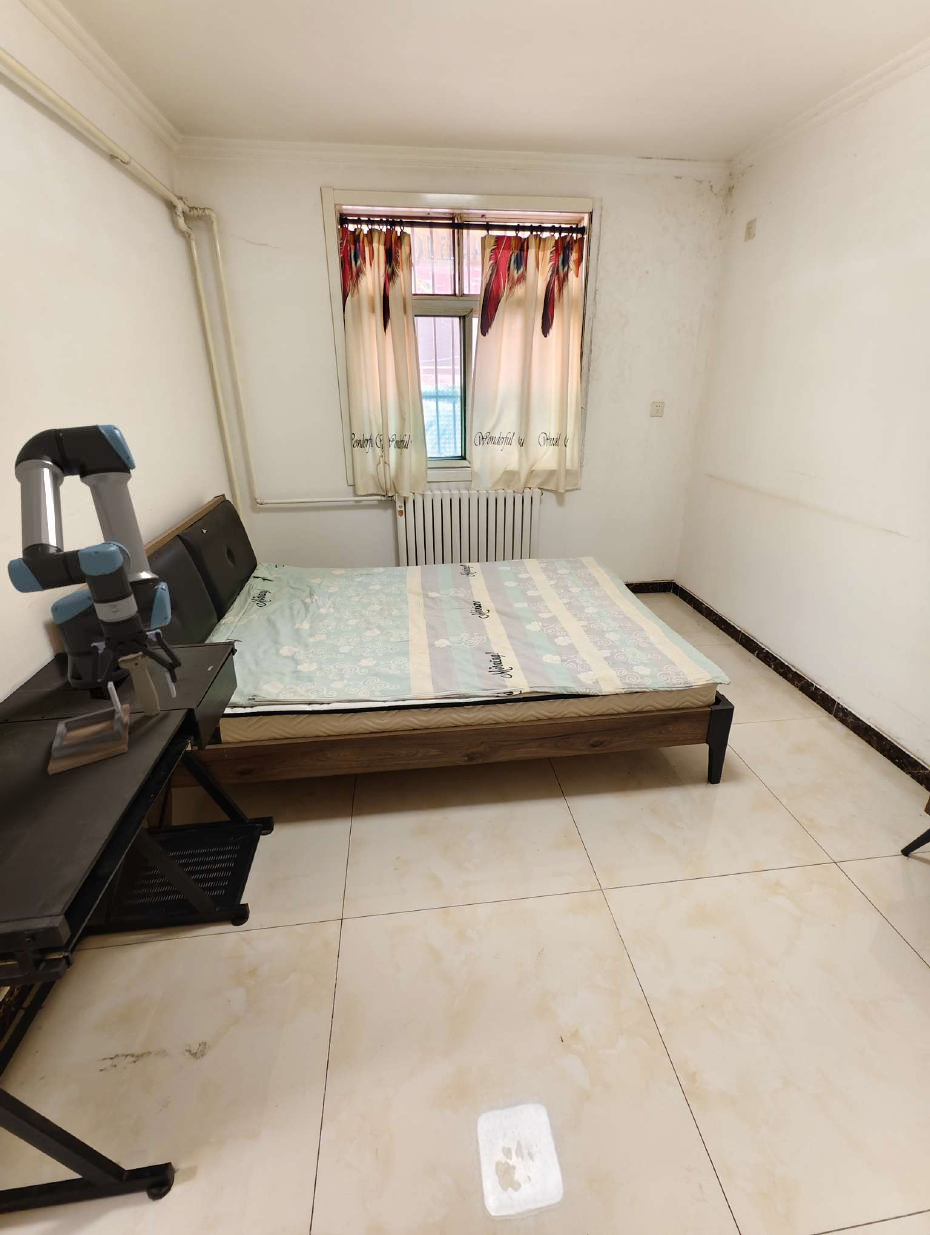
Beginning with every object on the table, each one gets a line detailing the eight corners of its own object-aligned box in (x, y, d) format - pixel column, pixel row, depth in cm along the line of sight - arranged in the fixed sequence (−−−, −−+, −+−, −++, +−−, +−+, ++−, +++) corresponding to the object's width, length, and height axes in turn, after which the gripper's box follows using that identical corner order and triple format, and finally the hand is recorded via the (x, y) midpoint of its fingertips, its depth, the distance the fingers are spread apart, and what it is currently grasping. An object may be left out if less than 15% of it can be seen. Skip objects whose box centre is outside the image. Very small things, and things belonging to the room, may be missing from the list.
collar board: (62, 726, 129) (57, 714, 128) (130, 707, 135) (125, 696, 134) (49, 774, 113) (43, 762, 111) (127, 751, 118) (122, 739, 117)
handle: (136, 713, 132) (116, 658, 126) (166, 704, 135) (148, 649, 129) (139, 722, 128) (119, 665, 122) (169, 712, 132) (151, 656, 126)
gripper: (53, 634, 114) (87, 724, 122) (178, 609, 123) (201, 694, 132) (58, 622, 120) (90, 709, 129) (176, 599, 130) (199, 681, 138)
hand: (146, 701), depth 130 cm, fingers open, 11 cm apart
